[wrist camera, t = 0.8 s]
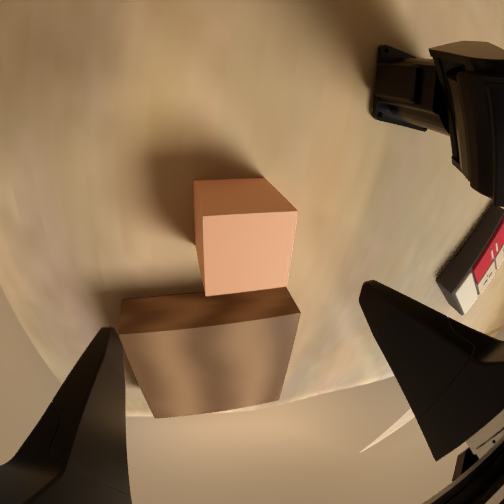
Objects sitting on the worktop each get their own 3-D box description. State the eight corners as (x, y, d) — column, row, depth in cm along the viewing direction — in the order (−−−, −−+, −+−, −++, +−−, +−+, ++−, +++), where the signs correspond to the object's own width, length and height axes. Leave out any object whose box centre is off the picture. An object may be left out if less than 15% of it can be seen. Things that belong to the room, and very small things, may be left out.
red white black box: (512, 248, 32) (465, 319, 35) (495, 236, 36) (448, 304, 39) (510, 211, 27) (455, 297, 30) (488, 199, 30) (434, 279, 33)
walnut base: (283, 282, 25) (300, 312, 22) (268, 373, 33) (278, 400, 29) (122, 299, 22) (118, 334, 19) (152, 389, 29) (154, 418, 26)
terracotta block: (264, 177, 20) (298, 211, 15) (259, 239, 23) (286, 286, 18) (193, 180, 19) (202, 216, 14) (195, 245, 21) (205, 296, 16)
